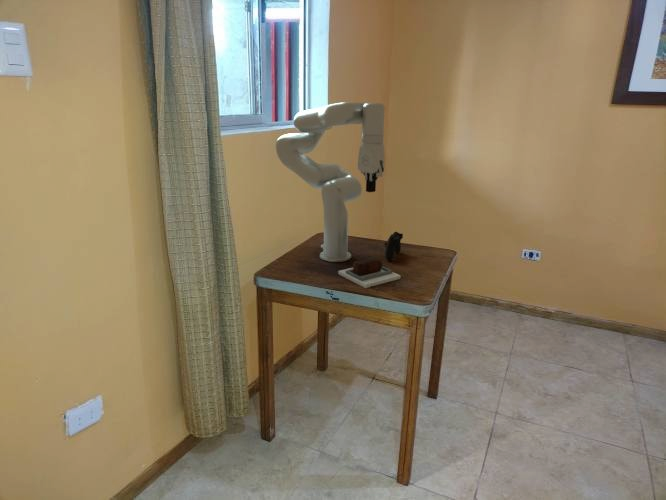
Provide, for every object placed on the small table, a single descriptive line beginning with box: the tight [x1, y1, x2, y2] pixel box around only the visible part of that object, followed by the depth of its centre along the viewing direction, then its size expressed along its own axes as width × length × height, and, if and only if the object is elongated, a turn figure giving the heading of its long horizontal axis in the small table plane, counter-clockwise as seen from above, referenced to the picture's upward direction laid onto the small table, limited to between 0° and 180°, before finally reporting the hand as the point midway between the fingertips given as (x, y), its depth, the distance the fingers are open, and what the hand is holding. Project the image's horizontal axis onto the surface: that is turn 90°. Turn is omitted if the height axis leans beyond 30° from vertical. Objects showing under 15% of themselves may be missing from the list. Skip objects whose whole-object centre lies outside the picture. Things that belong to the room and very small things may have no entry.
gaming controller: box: [384, 231, 404, 262], centre depth 186 cm, size 14×6×10 cm, turn 157°
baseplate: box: [337, 265, 401, 289], centre depth 165 cm, size 16×16×2 cm
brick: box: [352, 257, 383, 276], centre depth 165 cm, size 11×4×5 cm, turn 125°
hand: (370, 191), depth 166 cm, fingers closed
